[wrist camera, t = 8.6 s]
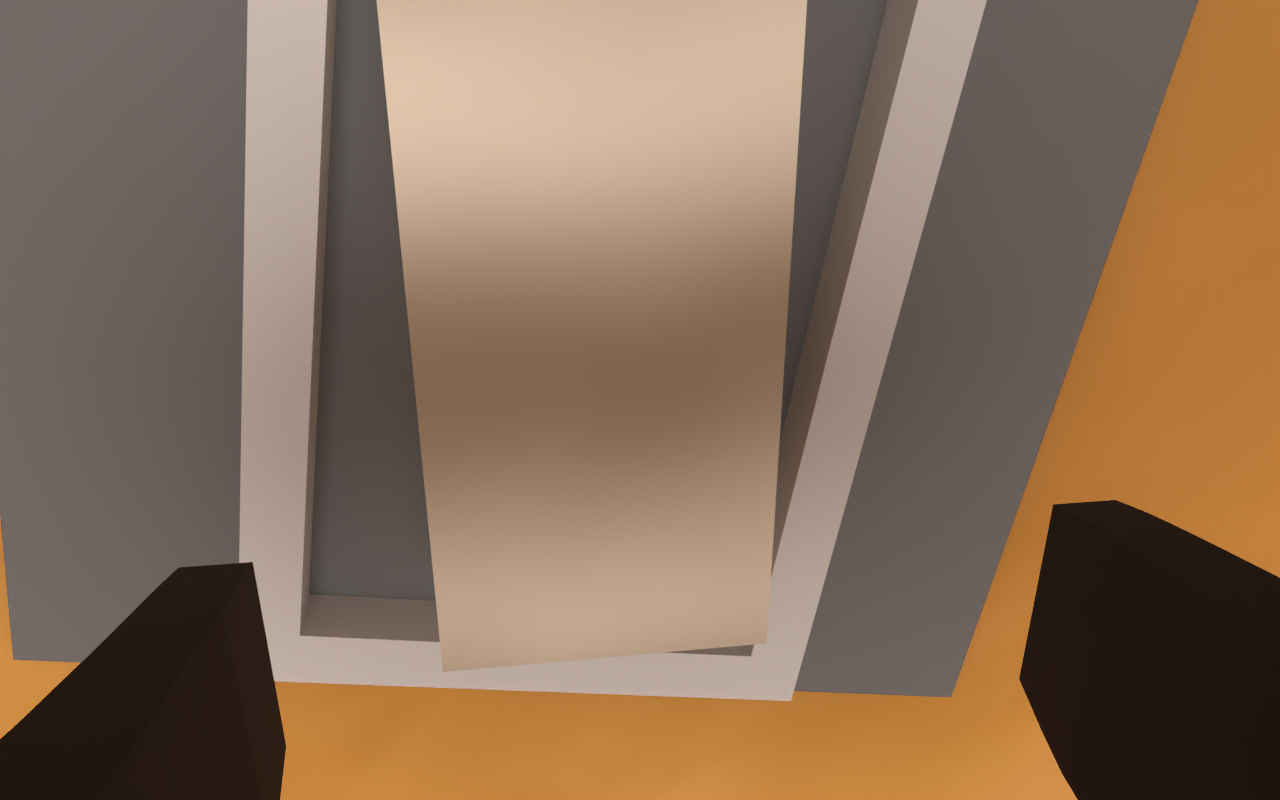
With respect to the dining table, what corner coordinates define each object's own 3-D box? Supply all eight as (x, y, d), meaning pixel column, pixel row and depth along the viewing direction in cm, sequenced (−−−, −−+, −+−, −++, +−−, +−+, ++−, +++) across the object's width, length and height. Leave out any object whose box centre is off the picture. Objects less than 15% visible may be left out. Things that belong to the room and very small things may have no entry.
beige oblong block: (721, 523, 20) (766, 643, 17) (447, 543, 20) (443, 671, 17) (744, -64, 16) (809, -44, 13) (392, -60, 15) (371, -39, 12)
